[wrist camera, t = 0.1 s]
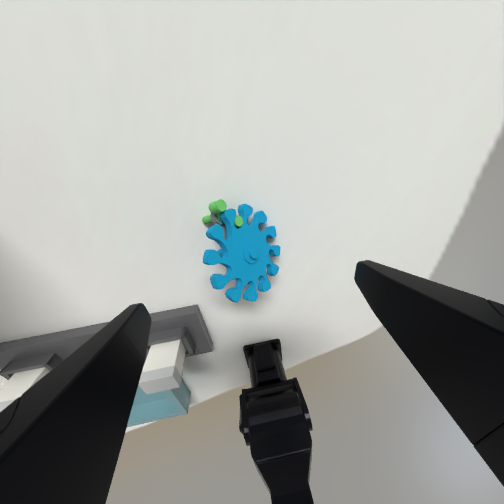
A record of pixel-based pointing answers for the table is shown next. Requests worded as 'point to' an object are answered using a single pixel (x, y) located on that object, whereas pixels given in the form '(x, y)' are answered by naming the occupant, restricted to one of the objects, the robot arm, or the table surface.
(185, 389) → the tray
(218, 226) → the gear
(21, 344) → the fuse holder
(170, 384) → the white fuse right
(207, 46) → the table surface
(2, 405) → the block
